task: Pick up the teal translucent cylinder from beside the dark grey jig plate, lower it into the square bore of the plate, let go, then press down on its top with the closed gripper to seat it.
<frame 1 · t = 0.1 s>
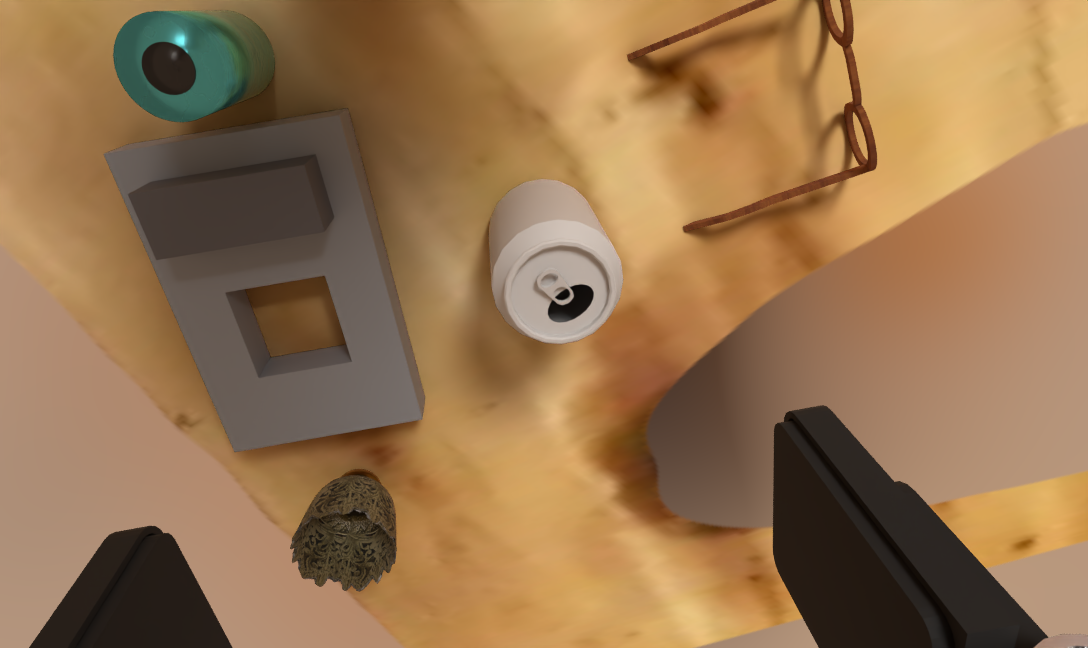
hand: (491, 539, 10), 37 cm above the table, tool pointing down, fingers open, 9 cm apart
can: (541, 227, 47), on the table
jig: (292, 284, 46), on the table
cup: (360, 481, 55), on the table
teal translucent cylinder: (231, 56, 40), on the table
glasses: (743, 106, 45), on the table
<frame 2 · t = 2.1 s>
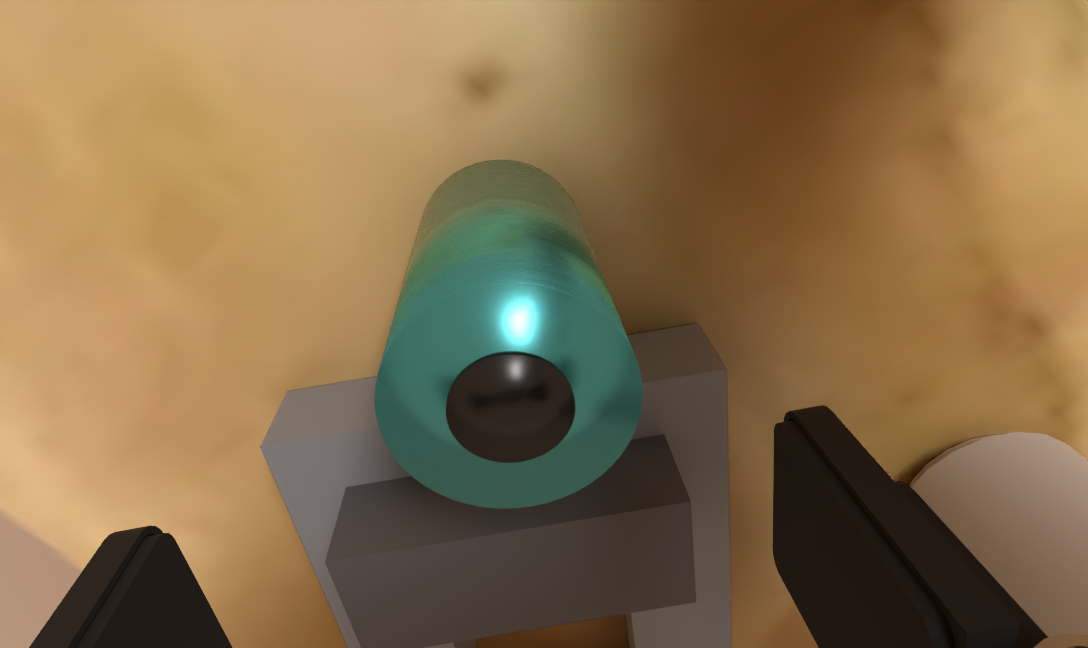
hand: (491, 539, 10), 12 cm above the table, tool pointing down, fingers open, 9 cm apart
can: (969, 489, 27), on the table
jig: (540, 583, 27), on the table
teal translucent cylinder: (501, 241, 20), on the table
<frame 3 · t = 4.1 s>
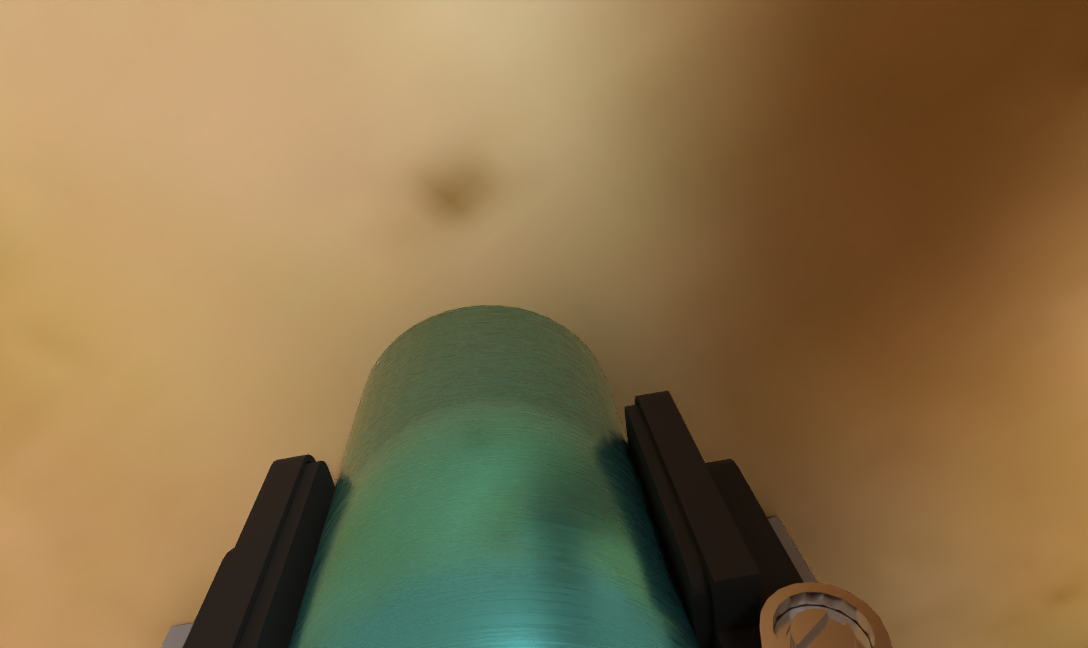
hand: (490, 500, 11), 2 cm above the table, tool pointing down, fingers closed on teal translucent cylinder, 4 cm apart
teal translucent cylinder: (488, 418, 13), on the table, touching gripper
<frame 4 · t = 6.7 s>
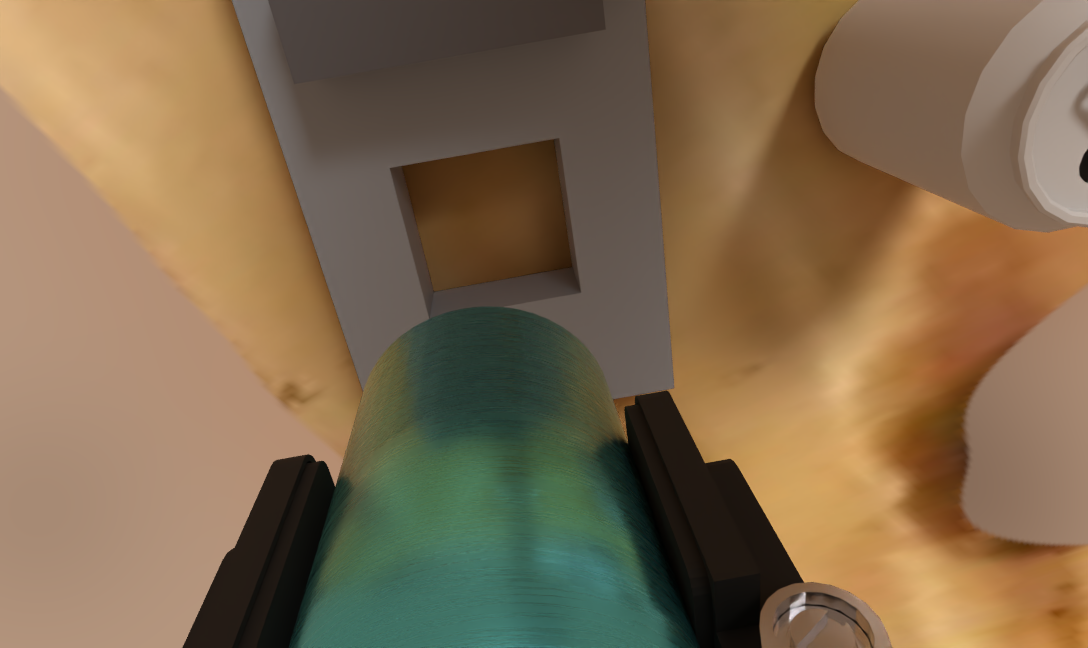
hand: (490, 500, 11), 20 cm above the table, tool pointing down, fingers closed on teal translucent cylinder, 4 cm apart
can: (887, 71, 28), on the table
jig: (480, 168, 28), on the table
teal translucent cylinder: (488, 419, 13), point 18 cm above the table, touching gripper
when the fingers open (4 cm above the table, at t = 9.6 s): teal translucent cylinder drops 1 cm, resting in jig.
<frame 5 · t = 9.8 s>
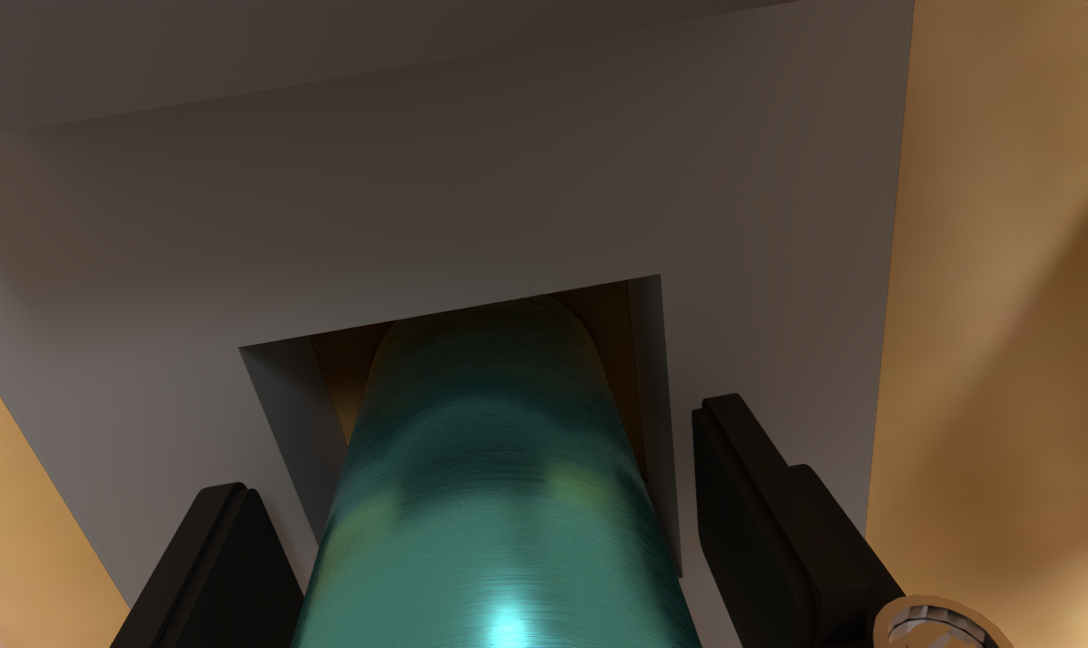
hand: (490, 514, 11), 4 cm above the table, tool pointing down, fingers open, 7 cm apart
jig: (468, 306, 13), on the table
teal translucent cylinder: (488, 387, 14), resting in jig
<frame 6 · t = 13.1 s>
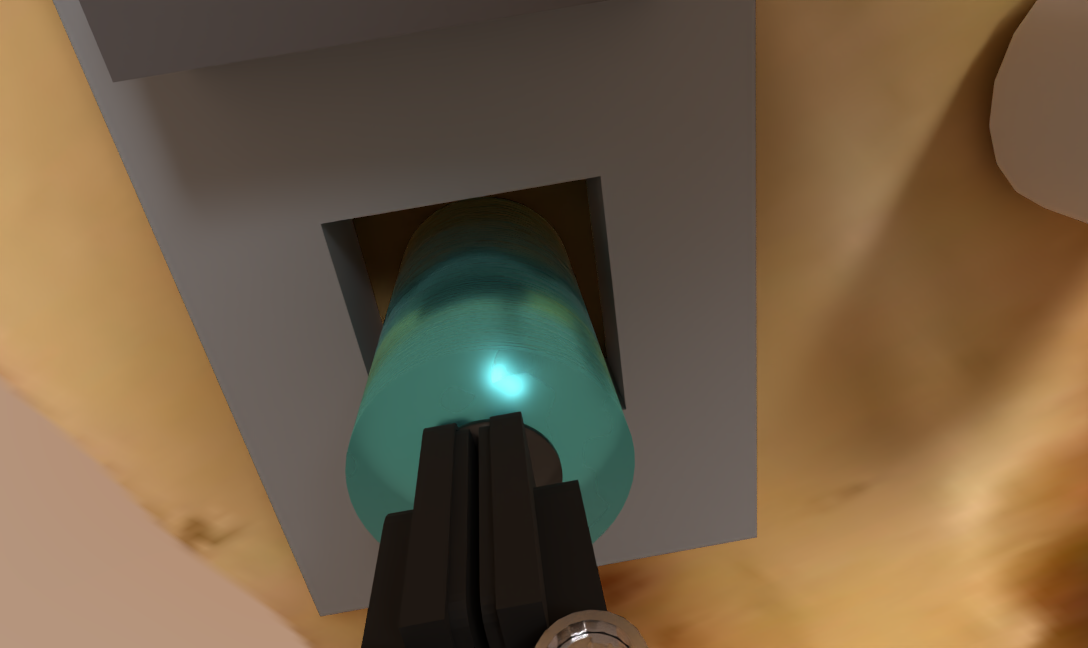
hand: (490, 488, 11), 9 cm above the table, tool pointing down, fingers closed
jig: (472, 216, 19), on the table
teal translucent cylinder: (486, 279, 19), resting in jig, touching gripper
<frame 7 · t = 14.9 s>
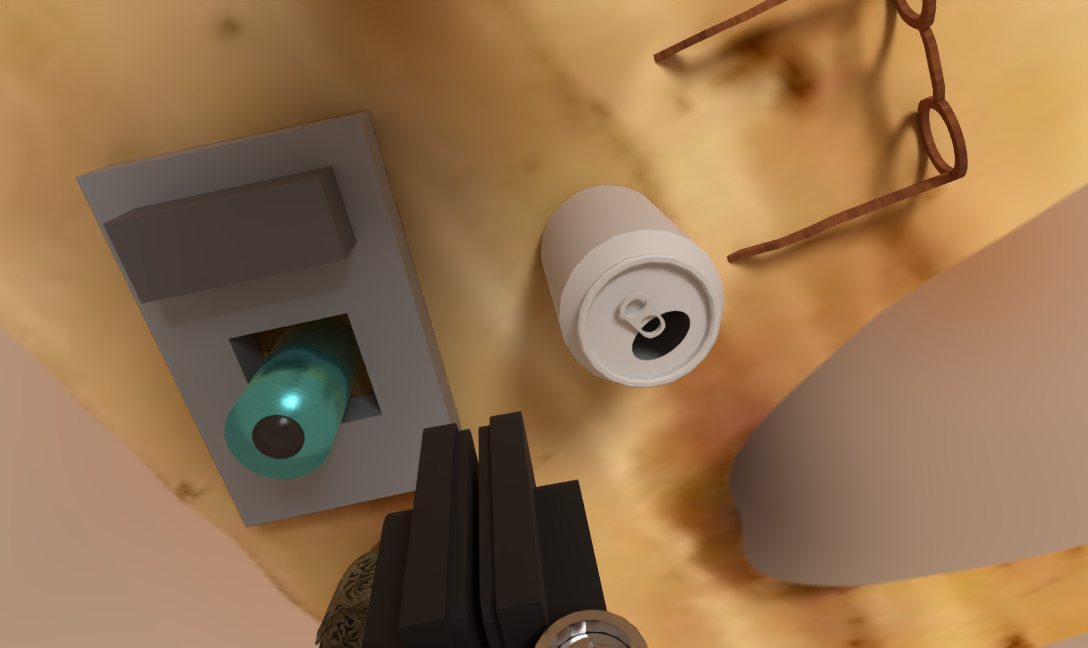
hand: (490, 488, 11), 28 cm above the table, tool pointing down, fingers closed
can: (601, 244, 39), on the table
jig: (308, 325, 39), on the table
cup: (395, 551, 46), on the table
teal translucent cylinder: (320, 354, 40), resting in jig
glasses: (795, 109, 37), on the table
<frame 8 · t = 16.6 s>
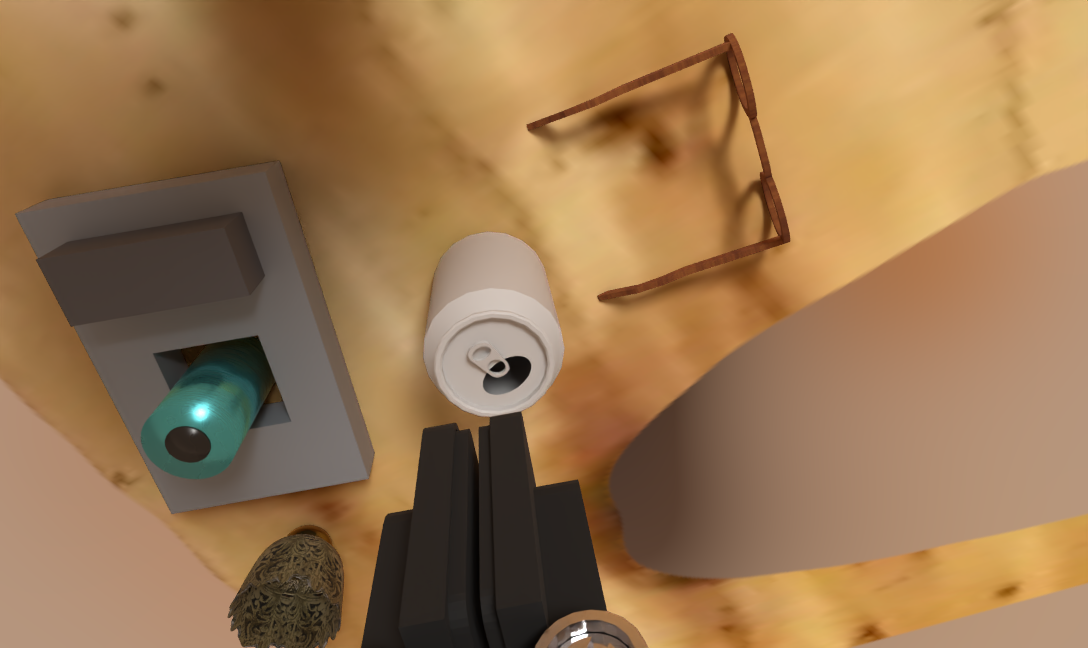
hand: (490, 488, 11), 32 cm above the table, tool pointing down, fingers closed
can: (490, 280, 44), on the table
jig: (229, 340, 44), on the table
cup: (310, 537, 52), on the table
teal translucent cylinder: (240, 365, 45), resting in jig
glasses: (655, 173, 43), on the table
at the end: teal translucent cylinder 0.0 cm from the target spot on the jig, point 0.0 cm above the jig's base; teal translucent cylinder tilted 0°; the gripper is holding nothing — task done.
